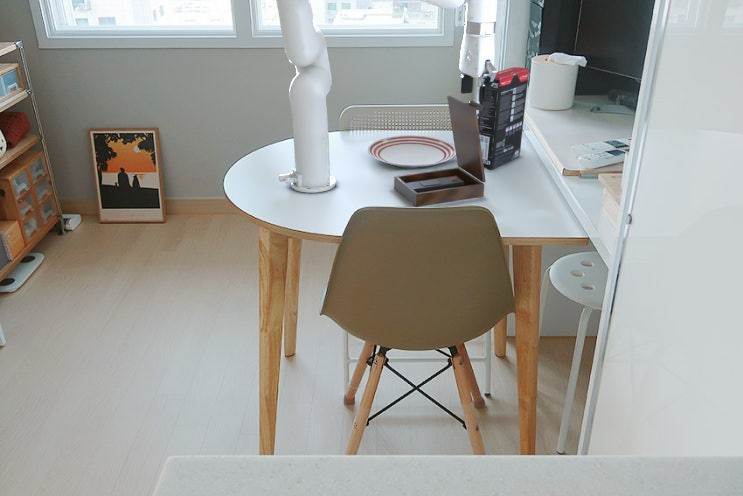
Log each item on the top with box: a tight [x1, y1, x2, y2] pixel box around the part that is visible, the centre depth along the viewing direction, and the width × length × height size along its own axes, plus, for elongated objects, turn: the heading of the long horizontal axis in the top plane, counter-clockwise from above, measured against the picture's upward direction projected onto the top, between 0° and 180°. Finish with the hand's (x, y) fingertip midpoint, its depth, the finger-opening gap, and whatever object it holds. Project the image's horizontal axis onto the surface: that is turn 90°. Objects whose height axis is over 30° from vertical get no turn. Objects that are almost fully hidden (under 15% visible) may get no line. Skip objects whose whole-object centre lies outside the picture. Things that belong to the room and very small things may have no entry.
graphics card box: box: [478, 66, 530, 170], centre depth 209 cm, size 17×7×27 cm, turn 141°
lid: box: [446, 95, 486, 184], centre depth 187 cm, size 20×15×5 cm
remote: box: [406, 176, 464, 193], centre depth 189 cm, size 15×5×3 cm, turn 111°
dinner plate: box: [367, 134, 456, 169], centre depth 217 cm, size 27×27×3 cm
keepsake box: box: [393, 166, 485, 208], centre depth 189 cm, size 20×15×4 cm
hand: (475, 97), depth 182 cm, fingers open, 9 cm apart
